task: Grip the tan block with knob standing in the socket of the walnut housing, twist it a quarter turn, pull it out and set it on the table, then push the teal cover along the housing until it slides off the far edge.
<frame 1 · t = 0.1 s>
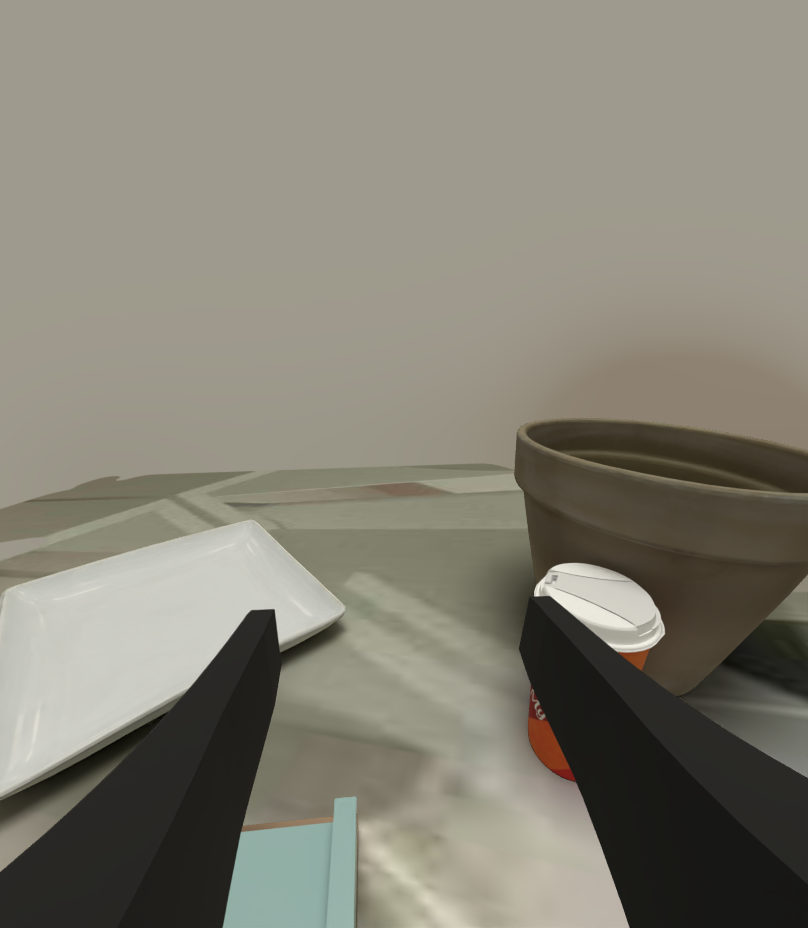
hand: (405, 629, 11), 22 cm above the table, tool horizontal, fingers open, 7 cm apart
square plate: (177, 626, 41), on the table
plant pot: (615, 639, 40), on the table
paper cup: (565, 744, 29), on the table
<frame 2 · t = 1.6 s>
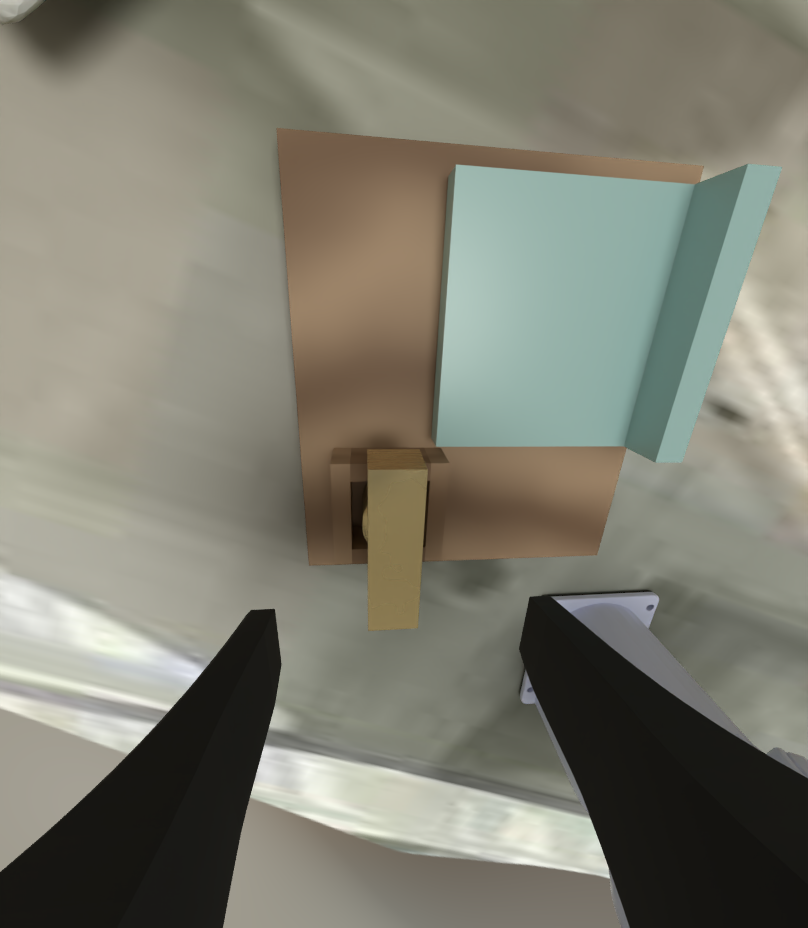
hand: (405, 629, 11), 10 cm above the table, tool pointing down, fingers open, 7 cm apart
cover: (572, 328, 14), point 3 cm above the table, slide at 0.0 cm
tan block with knob: (387, 495, 18), point 1 cm above the table, touching housing
housing: (468, 389, 18), on the table
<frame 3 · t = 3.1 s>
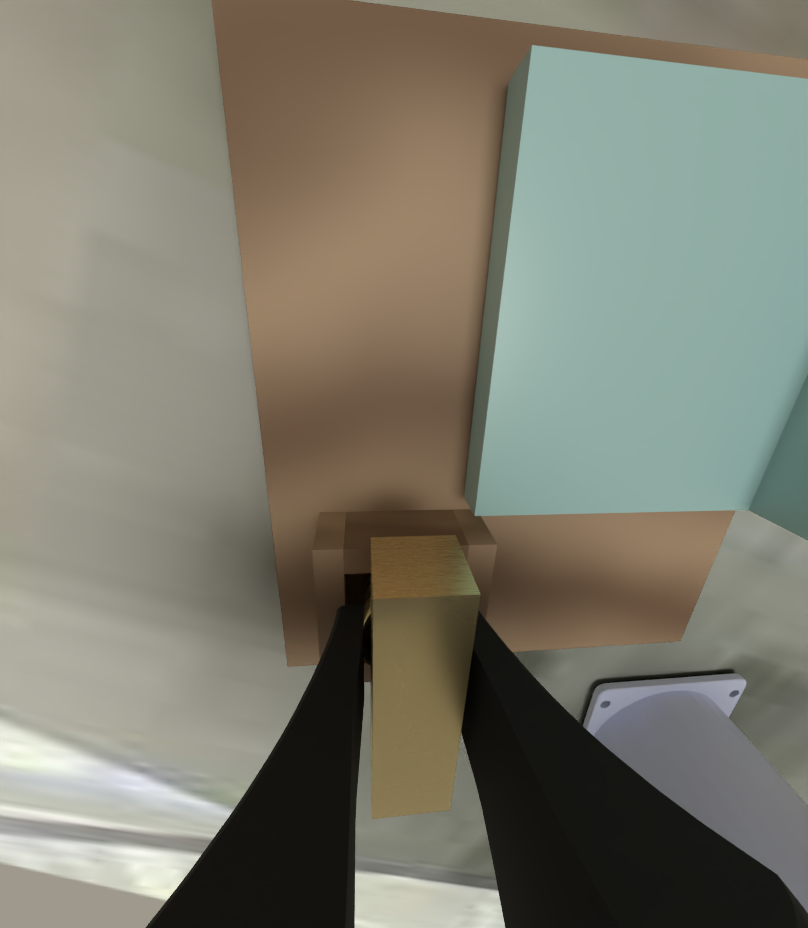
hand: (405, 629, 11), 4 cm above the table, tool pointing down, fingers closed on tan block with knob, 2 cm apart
cover: (703, 338, 9), point 3 cm above the table, slide at 0.0 cm
tan block with knob: (397, 574, 13), point 1 cm above the table, touching gripper, housing
housing: (514, 422, 13), on the table
when the fingers open (4 cm above the table, at t = 6.2 s): tan block with knob drops 1 cm, on the table.
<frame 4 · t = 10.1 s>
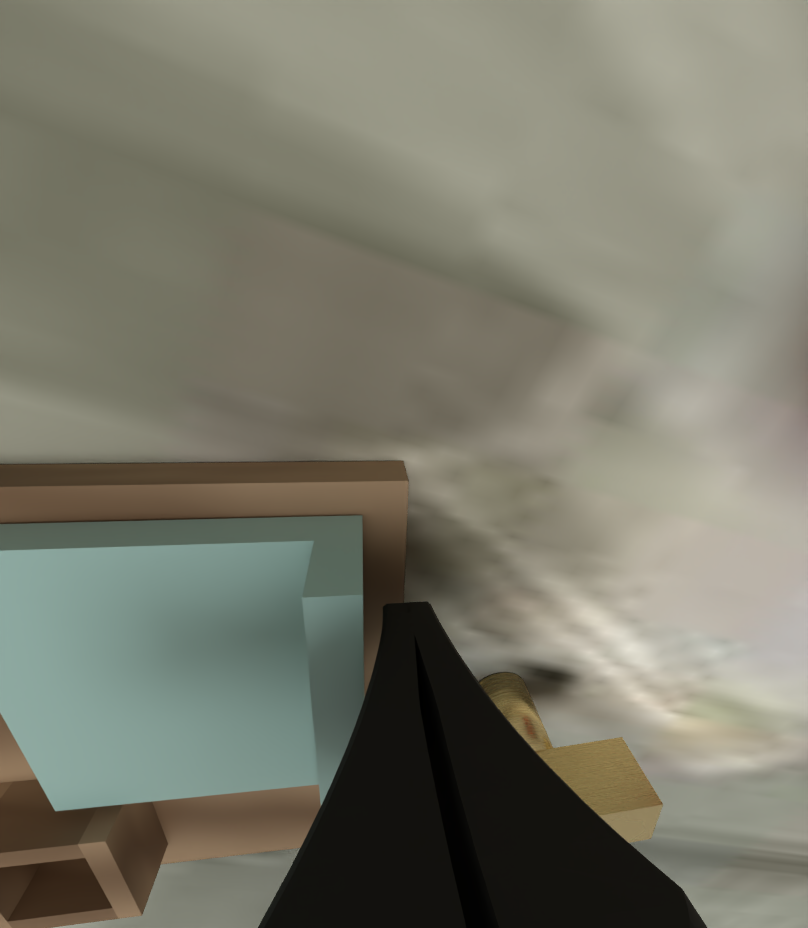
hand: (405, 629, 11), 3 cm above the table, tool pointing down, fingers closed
cover: (183, 705, 10), point 3 cm above the table, slide at 1.3 cm, touching gripper
tan block with knob: (498, 692, 16), on the table
housing: (188, 681, 14), on the table
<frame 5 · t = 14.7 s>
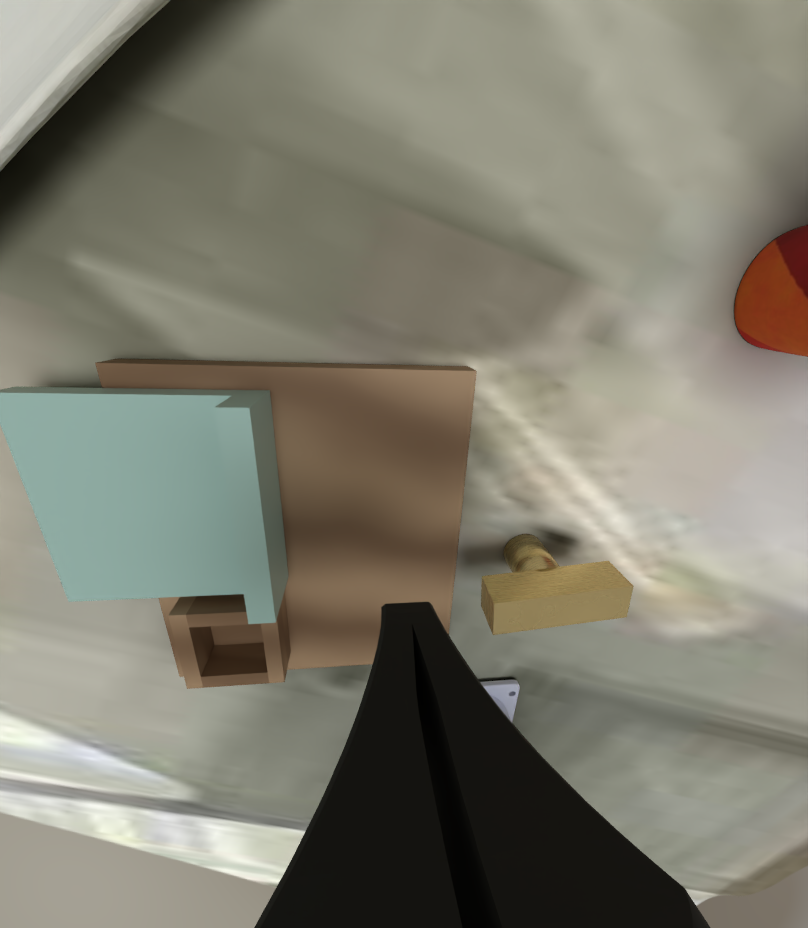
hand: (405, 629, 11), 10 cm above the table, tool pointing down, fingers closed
cover: (153, 511, 16), point 3 cm above the table, slide at 9.2 cm
tan block with knob: (522, 550, 23), on the table
paper cup: (783, 291, 19), on the table
housing: (312, 528, 21), on the table
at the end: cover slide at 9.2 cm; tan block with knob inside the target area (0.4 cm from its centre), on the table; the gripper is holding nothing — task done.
